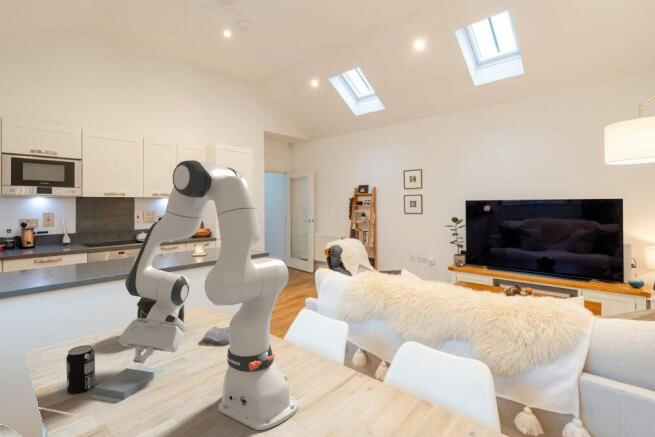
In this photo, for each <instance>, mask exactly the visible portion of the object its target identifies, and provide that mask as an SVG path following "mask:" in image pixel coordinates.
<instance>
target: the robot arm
mask: <svg viewBox="0 0 655 437" xmlns="http://www.w3.org/2000/svg"><path fill="white" fill-rule="evenodd" d="M172 184H173V187H172V189H171V192H170V194H169V196H168V199H167V204H166V207H165V212H164V214H163V216H162V217H161V219H160V220H159V221H155V222H154V223H152V225H151V226H150V227H149V230H148V231H147V233H146V236H145V238H144V240H143V241H142V244H141V247H140V250H139V251H138V254H137V257H136V259H135V260H134V264H133V266H132V267H131V269H130V271H129V273H128V275H127V277H126V279H125V284H124V285H125V289H126V290H127V292H128V293H129V294H130V296H131V297H139V298H141V297H145V298H149V299H153V300H157V302H156V303H155V305H153V307H152V308H151V310H150V312H149V314H148V316H147V317H146V319H141V318H137V317H136V318H135V319H133V320H132V321H131V322H130V323H129V324H128V326H127V327H126V328H125V329H124V331H123V332H122V333H121V335H120V337H119V339H118V343H119V344H121V345H122V346H124V347H127V348H128V347H130V348H135V356H134V358H133V359H132V361H133V362H134V363H135V364H142V365H143V364H145V362H146V360H147V359H148V358H149V357H151V356H152V355H153V354H154V352H155V351H160V352H167V353H175V352H176V351H178V350H179V348H180V346H181V344H182V341H183V338H184V332H185V331H186V329H187V325H186V323H185V322H184V323H185V324H184V323H183V322H182V321H181V320H180V319H179V318H177V317H178V313H179V310H180V309H181V307H182V306H183V305H184V306H185V303H186V301H187V298H188V296H189V292H190V291H191V286H192V283H191V282H192V281H191V280H190V279H189V278H188V277H187V276H185V275H183V274H177V273H174V272H170V271H164V270H161V269H157V268H155V267H153V261H154V258H155V257H156V254H157V252H158V249H159V247H160V245H161V244H163V243H165V242H171V241H175V242H176V241H182V240H186V239H189V238H192V236H195V234H197V232H198V231H199V229H200V227H201V225H202V224H201V223H202V221H203V217H204V216H203V215H204V210H205V206H206V203H208V202H209V201H213V202H214V205H215V210H216V217H217V223H218V227H219V228H218V229H219V236H220V237H219V238H220V251H219V254H218V257H217V259H216V262H215V264H214V266H213V267H212V269H210V271H208V273H207V275H206V277H205V281H204V293H205V295H206V297H207V299H208V300H209V301H210V302H211V303H212V304H213V305H215V306H219V307H221V306H223V307H224V306H235V305H239V304H241V306H240V308H239V310H238V311H237V312H236V313H235V314H234V315H233V316H232V318H231V320H230V322H229V324H228V325H229V326H228V327H229V344H228V346H229V347H228V349H227V356H226V358H227V364H228V367H227V370H226V372H225V375H224V377H223V385H222V386H223V387H222V396H221V397H222V398H221V402H220V403H219V404H218V406H217V407H218V408H217V410H218V411H219V412H220V413H222V414H223V415H226V416H228V417H230V418H231V419H234V420H236V421H237V422H240V423H241V424H243V425H246V426H248V427H249V428H252V429H253V430H256V431H262V430H263V431H264V430H267V429H271V428H273V427H275V426H277V425H279V424H281V423H283V422H284V421H286V420H288V419H289V418H291V417H292V416H293V415H294V414H295V413H296V412H297V411H298V410H299V407H300V403H299V402H298V400H297V399H296V398H295V397H294V396H292V395H291V393H290V386H289V383H288V377H287V375H286V373H282V372H281V371H280V369H279V368H278V366H277V365H276V363H275V362H274V361H275V360H274V359H276V357H275V356H276V354H273V349H272V347H271V344H270V337H271V336H270V333H271V332H270V331H271V320H272V314H273V311H274V307H275V305H276V303H277V300H278V297H279V295H280V294H281V292H282V291H283V290H284V288H285V287H286V286H287V284H288V282H289V275H290V274H289V269H288V267H287V265H286V263H285V262H284V261H283V260H282V259H280V258H273V257H261V258H255V259H252V250H253V246H254V245H255V244H257V243H258V241H259V240H260V238H261V235H262V233H261V227H260V222H259V217H258V212H257V207H256V203H255V200H254V196H253V193H252V190H251V188H250V185H249V183H248V181H247V180H246V179H245V178H244V177H243V176H242V175H241V173H239V172H238V171H237V170H236V169H233V168H230V167H225V166H222V165H219V164H216V163H213V162H207V161H198V160H194V159H193V160H183V161H180V162H179V163H178V164H177V165H176V166H175V167H174V170H173V174H172ZM144 350H145V352H144ZM143 352H144V353H143ZM142 353H143V354H142Z"/></svg>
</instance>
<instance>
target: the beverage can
mask: <svg viewBox="0 0 655 437" xmlns="http://www.w3.org/2000/svg"><path fill="white" fill-rule="evenodd" d="M95 352H96V351H95V350H94V348H93V345H89V344H85V345H79V346H75V347H73V348H70V349H69V350H68V351H67V353H68V354H67V356H66V357H65V360H66V389H67V390H66V392H67V393H68V394H70V395H79V394H83V393H86V392H88V391H90V390H91V389H94V387H95V385H96V357H95V356H96V354H95Z"/></svg>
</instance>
